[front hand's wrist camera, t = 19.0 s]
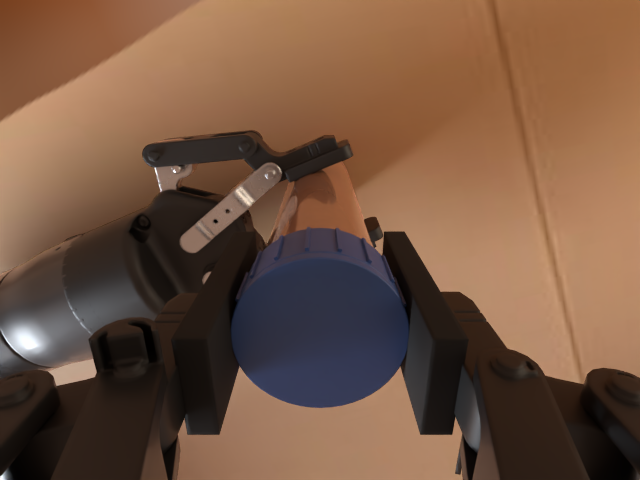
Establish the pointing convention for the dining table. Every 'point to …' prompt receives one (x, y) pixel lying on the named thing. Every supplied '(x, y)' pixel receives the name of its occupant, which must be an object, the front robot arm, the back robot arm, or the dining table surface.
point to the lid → (320, 319)
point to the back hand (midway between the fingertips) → (363, 188)
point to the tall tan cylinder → (321, 205)
